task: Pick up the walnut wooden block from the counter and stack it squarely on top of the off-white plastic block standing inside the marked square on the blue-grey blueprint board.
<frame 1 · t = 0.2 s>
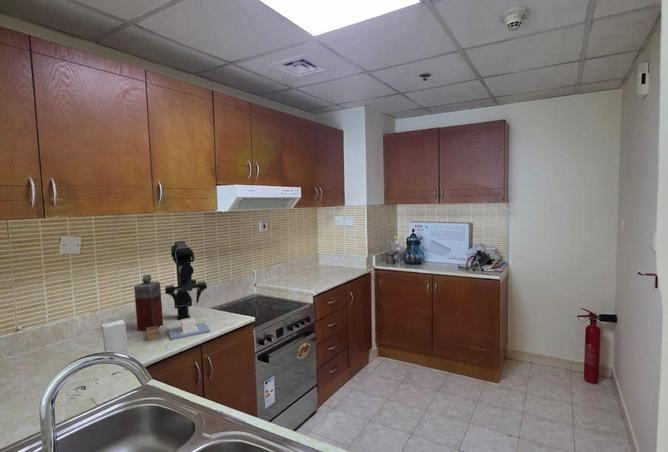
hand: (187, 304, 182), 14 cm above the worktop, tool pointing down, fingers open, 9 cm apart
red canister: (148, 328, 193), on the worktop
skincare box: (116, 357, 158), on the worktop
walnut block: (153, 338, 178), on the worktop
blueprint board: (188, 331, 185), on the worktop
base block: (188, 329, 185), point 1 cm above the worktop, touching blueprint board
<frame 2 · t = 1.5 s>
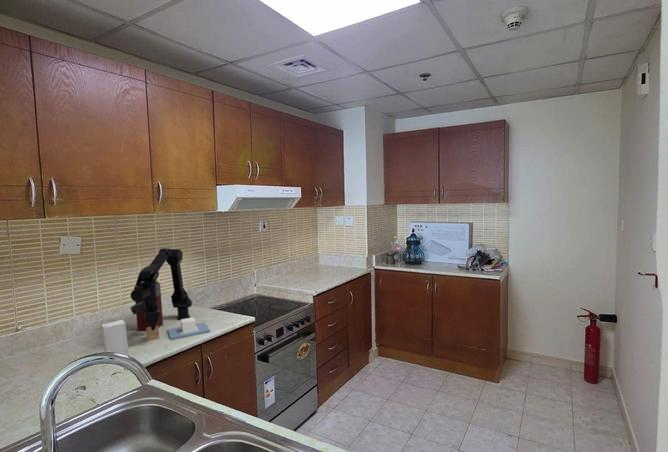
hand: (152, 327, 178), 5 cm above the worktop, tool pointing down, fingers open, 9 cm apart
nothing on the worktop moved.
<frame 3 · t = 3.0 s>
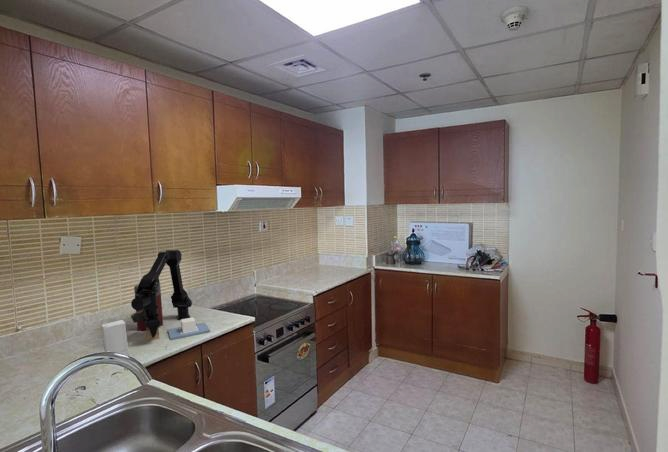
hand: (152, 335, 178), 1 cm above the worktop, tool pointing down, fingers closed on walnut block, 5 cm apart
walnut block: (153, 338, 178), on the worktop, touching gripper
everything else where it was.
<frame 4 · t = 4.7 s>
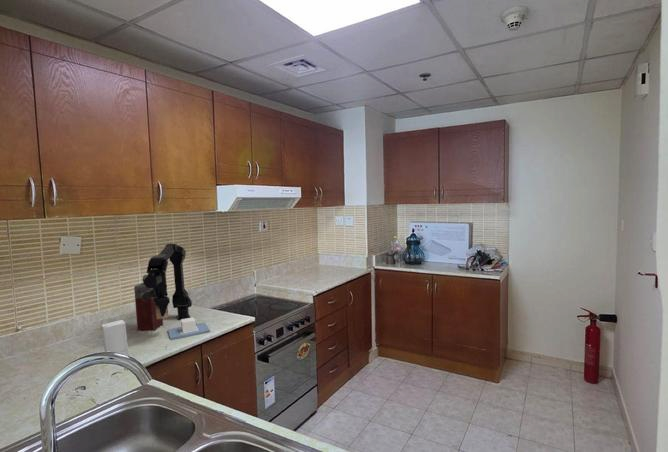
hand: (162, 314, 180), 11 cm above the worktop, tool pointing down, fingers closed on walnut block, 5 cm apart
walnut block: (162, 317, 180), point 9 cm above the worktop, touching gripper
everything else where it was.
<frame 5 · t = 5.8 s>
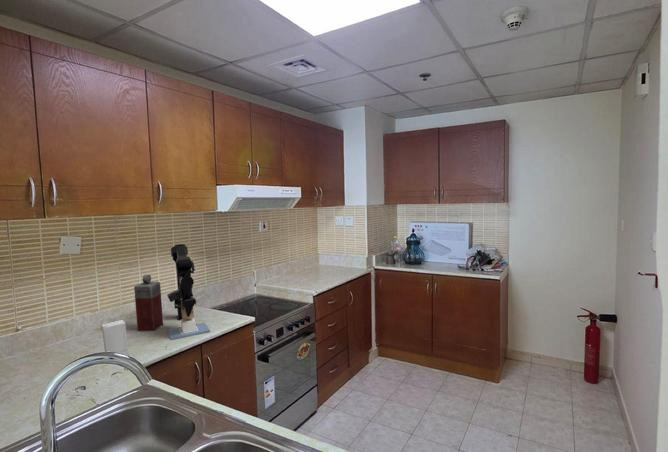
hand: (187, 314, 185), 9 cm above the worktop, tool pointing down, fingers closed on walnut block, 5 cm apart
walnut block: (187, 317, 185), point 7 cm above the worktop, touching gripper
everything else where it was.
when the fingers open (8 cm above the worktop, at t = 6.6 s): walnut block stays where it is, resting on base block.
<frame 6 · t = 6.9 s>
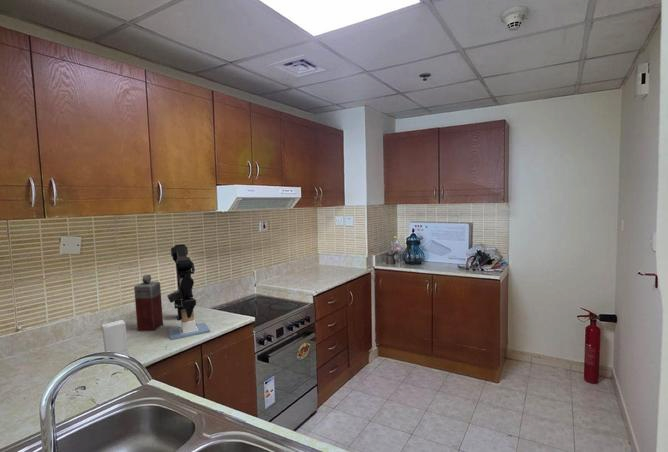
hand: (187, 315, 185), 8 cm above the worktop, tool pointing down, fingers open, 8 cm apart
walnut block: (187, 320, 185), point 6 cm above the worktop, touching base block
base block: (188, 329, 185), point 1 cm above the worktop, touching blueprint board, walnut block
everything else where it was.
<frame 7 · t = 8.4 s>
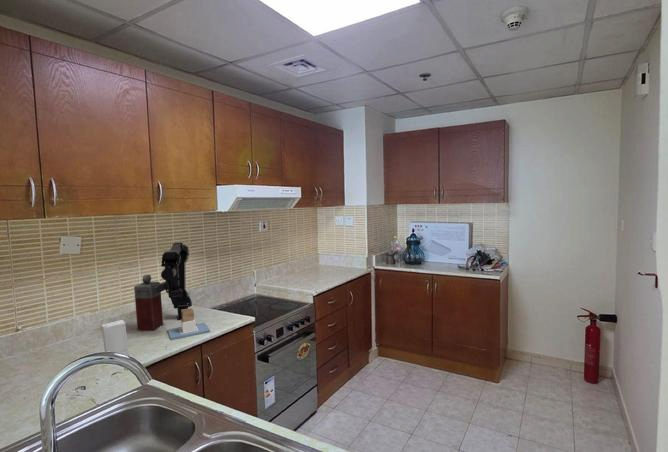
hand: (174, 306, 189), 12 cm above the worktop, tool pointing down, fingers open, 9 cm apart
nothing on the worktop moved.
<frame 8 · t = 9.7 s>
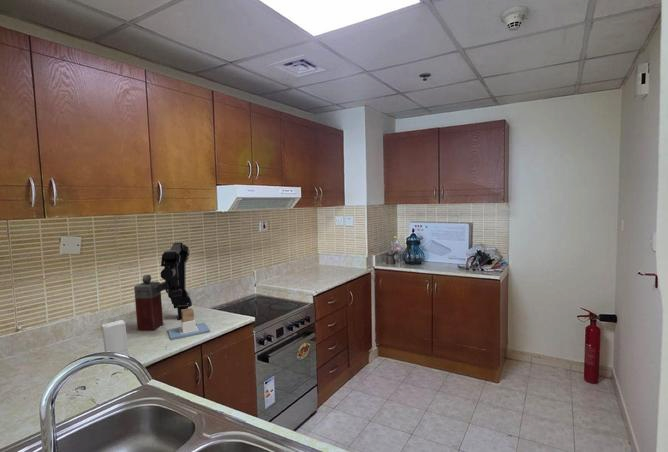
hand: (174, 306, 189), 12 cm above the worktop, tool pointing down, fingers open, 9 cm apart
nothing on the worktop moved.
at the end: walnut block 0.1 cm off-centre on the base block, point 5.0 cm above the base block's base; walnut block tilted 0°; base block 0.0 cm from the target spot, point 1.0 cm above the worktop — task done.
